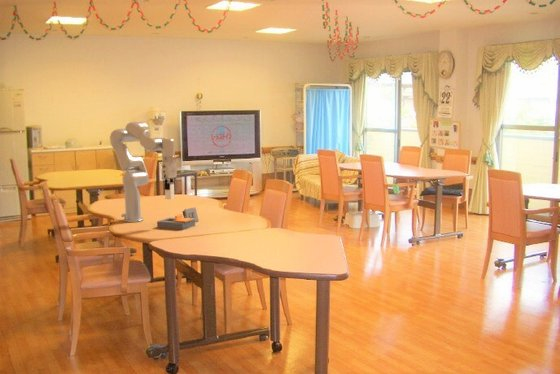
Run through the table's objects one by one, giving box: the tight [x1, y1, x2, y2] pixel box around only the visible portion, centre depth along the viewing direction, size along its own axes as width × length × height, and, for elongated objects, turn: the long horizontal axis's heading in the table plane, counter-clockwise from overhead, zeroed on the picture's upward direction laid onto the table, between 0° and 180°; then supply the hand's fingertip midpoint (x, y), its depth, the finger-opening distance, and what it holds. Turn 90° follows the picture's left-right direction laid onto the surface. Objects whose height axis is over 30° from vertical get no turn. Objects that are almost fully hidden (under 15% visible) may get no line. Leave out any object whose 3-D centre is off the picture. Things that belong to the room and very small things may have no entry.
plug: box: [164, 181, 175, 200], centre depth 370 cm, size 4×4×10 cm
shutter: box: [174, 213, 193, 222], centre depth 368 cm, size 8×9×3 cm
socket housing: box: [156, 217, 196, 231], centre depth 371 cm, size 18×14×4 cm
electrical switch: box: [182, 207, 199, 223], centre depth 386 cm, size 9×5×9 cm, turn 141°
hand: (169, 188), depth 370 cm, fingers closed on plug, 4 cm apart
